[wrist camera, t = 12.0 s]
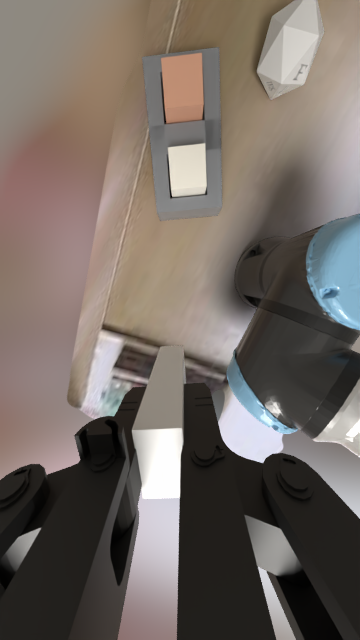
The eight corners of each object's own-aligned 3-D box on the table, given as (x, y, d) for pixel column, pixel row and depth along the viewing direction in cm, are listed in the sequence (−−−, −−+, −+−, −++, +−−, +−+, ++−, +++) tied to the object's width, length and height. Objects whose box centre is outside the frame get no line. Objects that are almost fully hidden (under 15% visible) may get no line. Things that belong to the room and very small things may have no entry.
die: (242, 104, 32) (286, 86, 26) (251, 15, 26) (311, -38, 20) (275, 104, 34) (324, 87, 28) (290, 22, 29) (356, -24, 22)
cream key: (201, 163, 32) (205, 143, 28) (203, 199, 34) (206, 186, 29) (170, 167, 33) (167, 147, 28) (172, 202, 34) (171, 189, 29)
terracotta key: (198, 89, 30) (201, 52, 25) (200, 131, 31) (203, 104, 26) (164, 93, 30) (161, 57, 25) (167, 135, 32) (164, 108, 27)
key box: (214, 80, 31) (219, 47, 27) (217, 215, 36) (222, 206, 32) (148, 88, 31) (142, 56, 27) (160, 220, 36) (157, 212, 32)
